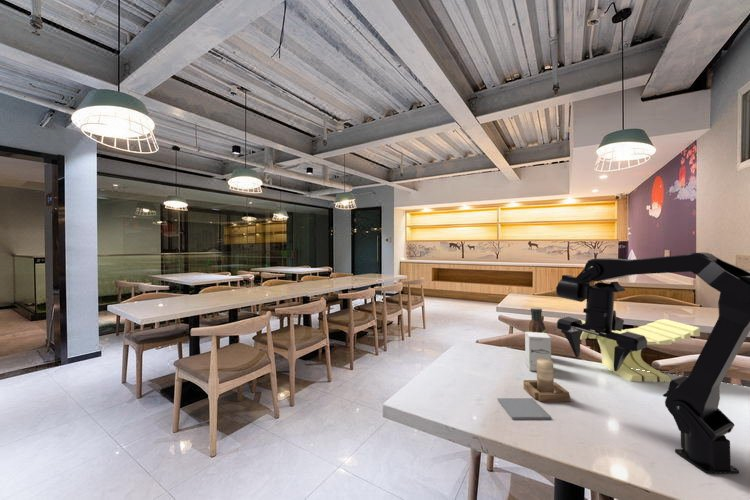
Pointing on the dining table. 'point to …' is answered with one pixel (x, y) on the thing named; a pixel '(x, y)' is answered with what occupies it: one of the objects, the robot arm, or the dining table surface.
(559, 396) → the walnut frame
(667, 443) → the dining table surface
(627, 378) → the slatted curved stool
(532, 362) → the supplement box
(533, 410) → the slate pad
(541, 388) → the oak peg
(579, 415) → the dining table surface
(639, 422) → the dining table surface
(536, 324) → the sauce bottle
